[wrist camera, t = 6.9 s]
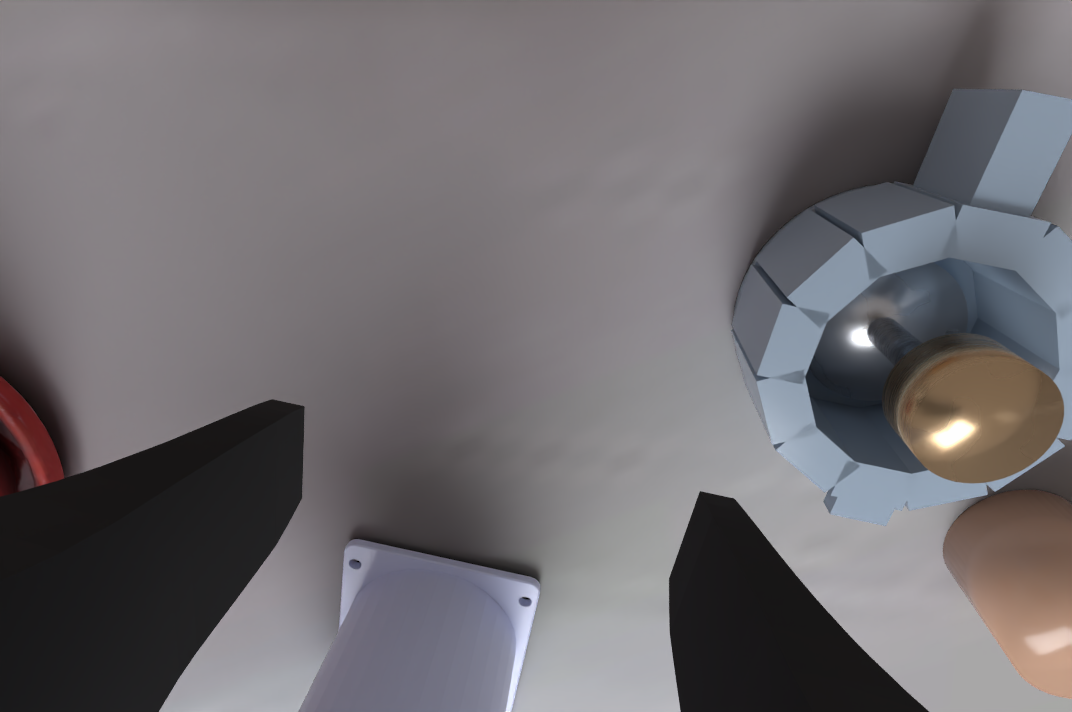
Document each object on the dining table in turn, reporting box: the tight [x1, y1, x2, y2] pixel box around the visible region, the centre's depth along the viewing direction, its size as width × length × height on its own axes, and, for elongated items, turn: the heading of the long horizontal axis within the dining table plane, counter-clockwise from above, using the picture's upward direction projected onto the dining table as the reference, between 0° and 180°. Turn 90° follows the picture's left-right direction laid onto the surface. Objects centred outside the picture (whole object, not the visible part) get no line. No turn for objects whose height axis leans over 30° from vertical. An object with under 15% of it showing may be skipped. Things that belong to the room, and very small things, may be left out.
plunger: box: [809, 262, 1064, 483], centre depth 16 cm, size 5×5×6 cm
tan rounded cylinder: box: [943, 490, 1072, 699], centre depth 20 cm, size 5×5×4 cm
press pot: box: [731, 89, 1072, 526], centre depth 18 cm, size 11×8×4 cm
